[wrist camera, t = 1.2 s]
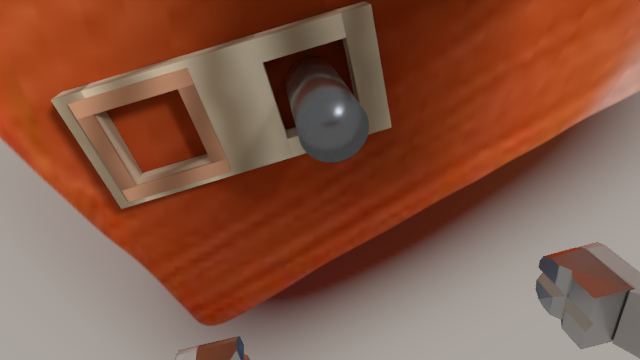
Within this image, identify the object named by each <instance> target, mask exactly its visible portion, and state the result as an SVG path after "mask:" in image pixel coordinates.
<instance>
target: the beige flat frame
mask: <svg viewBox="0 0 640 360" xmlns="http://www.w3.org/2000/svg"><path fill="white" fill-rule="evenodd" d="M340 39H342V40H343V45H344V50H345V54H346V59H347V64H348V68H349V73H350V78H351V82H352V87H353V92H354V96H355V98H356V99H357V101H358V102H359V103H360V105H361V106H362V107H363V109H364V110H365V112H366V114H367V117H368V121H369V132H368V134H372V133H375V132H378V131H382V130H385V129H388V128H392V125H391V119H390V114H389V108H388V102H387V96H386V90H385V84H384V78H383V72H382V66H381V60H380V54H379V48H378V42H377V36H376V31H375V25H374V19H373V13H372V7H371V4H370V3H367V2H365V1H363V2H359V3H356V4H353V5H349V6H346V7H343V8H339V9H336V10H333V11H329V12H326V13H323V14H319V15H316V16H313V17H309V18H306V19H303V20H299V21H296V22H293V23H289V24H286V25H283V26H279V27H276V28H273V29H269V30H266V31H263V32H259V33H256V34H253V35H249V36H246V37H243V38H239V39H236V40H233V41H229V42H226V43H223V44H219V45H216V46H213V47H209V48H206V49H203V50H199V51H196V52H193V53H189V54H186V55H183V56H179V57H176V58H173V59H169V60H166V61H163V62H159V63H156V64H153V65H149V66H146V67H143V68H139V69H136V70H133V71H129V72H126V73H123V74H119V75H116V76H113V77H109V78H106V79H103V80H99V81H96V82H93V83H89V84H86V85H83V86H79V87H76V88H73V89H69V90H66V91H63V92H61V93H60V94H58V95H57V96H56V97H54V98H53V99H52V100H51V102H52V103H53V105H54V106H55V108H56V109H57V111H58V112H59V114H60V115H61V117H62V118H63V120H64V121H65V123H66V125H67V126H68V128H69V129H70V131H71V132H72V134H73V135H74V137H75V138H76V140H77V141H78V143H79V145H80V146H81V148H82V149H83V151H84V152H85V154H86V155H87V157H88V158H89V160H90V161H91V163H92V165H93V166H94V168H95V169H96V171H97V172H98V174H99V175H100V177H101V178H102V180H103V181H104V183H105V185H106V186H107V188H108V189H109V191H110V192H111V194H112V195H113V197H114V198H115V200H116V201H117V203H118V204H119V206H120V208H121V209H123V208H127V207H130V206H133V205H137V204H140V203H143V202H146V201H150V200H153V199H156V198H160V197H163V196H166V195H170V194H173V193H176V192H180V191H183V190H186V189H190V188H193V187H196V186H199V185H203V184H206V183H209V182H213V181H216V180H219V179H223V178H226V177H229V176H233V175H236V174H239V173H243V172H246V171H249V170H253V169H256V168H259V167H262V166H266V165H269V164H272V163H276V162H279V161H282V160H286V159H289V158H292V157H296V156H299V155H302V154H306V152H305V150H304V149H303V147H302V146H301V143H300V141H299V137H298V133H297V129H296V127H293V128H290V129H287V130H286V129H285V126H284V123H283V120H282V117H281V114H280V111H279V108H278V105H277V102H276V99H275V96H274V93H273V90H272V87H271V84H270V81H269V78H268V75H267V71H266V68H265V65H264V62H266V61H270V60H273V59H276V58H280V57H283V56H286V55H290V54H293V53H296V52H300V51H303V50H306V49H310V48H313V47H316V46H320V45H323V44H326V43H330V42H333V41H336V40H340ZM177 89H178V91H179V93H180V95H181V98H182V100H183V102H184V104H185V106H186V108H187V111H188V113H189V115H190V117H191V119H192V121H193V124H194V126H195V128H196V130H197V132H198V134H199V137H200V139H201V141H202V143H203V145H204V147H205V150H206V152H207V154H204V155H200V156H197V157H194V158H191V159H187V160H184V161H181V162H177V163H174V164H171V165H167V166H164V167H161V168H157V169H154V170H151V171H147V172H144V173H142V171H141V170H140V168H139V166H138V164H137V163H136V161H135V159H134V158H133V156H132V154H131V152H130V151H129V149H128V147H127V145H126V144H125V142H124V140H123V139H122V137H121V135H120V133H119V132H118V130H117V128H116V126H115V125H114V123H113V121H112V120H111V118H110V116H109V114H108V113H107V110H110V109H113V108H117V107H120V106H123V105H127V104H130V103H133V102H137V101H140V100H143V99H147V98H150V97H153V96H157V95H160V94H163V93H167V92H170V91H173V90H177Z"/></svg>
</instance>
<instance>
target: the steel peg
mask: <svg viewBox="0 0 640 360" xmlns="http://www.w3.org/2000/svg"><path fill="white" fill-rule="evenodd" d="M285 87H286V92H287V96H288V99H289V103H290V107H291V111H292V114H293V118H294V122H295V126H296V129H297V133H298V137H299V141H300V143H301V146H302V147H303V149H304V150H305V152H306V153H307V154H308V155H310V156H311V157H312V158H314V159H316V160H319V161H322V162H328V163H333V162H340V161H343V160H346V159H348V158H350V157H351V156H353V155H354V154H356V153H357V152H358V151H359V150H360V149H361V147H362V146H363V145H364V143H365V141H366V139H367V136H368V132H369V121H368V117H367V114H366V112H365V110H364V109H363V107H362V106H361V105H360V103H359V102H358V101H357V99H356V98H355V96H354V95H353V94H352V92H351V91H350V90H349V88H348V87H347V85H346V84H345V83H344V81H343V80H342V79H341V77H340V76H339V74H338V73H337V72H336V70H335V69H334V68H333V66H332V65H331V64H330V63H329V62H328V61H326V60H324V59H322V58H319V57H306V58H303V59H300V60H298V61H297V62H296V63H294V64H293V65H292V67H291V68H290V69H289V71H288V73H287V76H286V80H285Z"/></svg>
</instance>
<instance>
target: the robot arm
mask: <svg viewBox="0 0 640 360" xmlns="http://www.w3.org/2000/svg"><path fill="white" fill-rule="evenodd" d="M539 268H540V270H542V272H543V273H542V274H541V275H540V276H539V278H538V279H537V281H536V292H537V295H538V299H539V300H540V302H541V304H542V305H543V307H544V308H545V309H546V311H547V312H548V313H549V314H550V315H552V316H555V317H557V318H559V319H561V325H562V329H563V330H564V331H565V332H566V333H567V334H568V335H569V337H570V338H571V339H572V340H573V341H574V342H575V343H576V344H577V346H578V347H579V348H580V349H583V348H587V347H591V346H595V345H599V344H603V343H608V342H612V341H613V344H615V345H617V346H619V347H620V348H622V349H624V350H626V351H628V352H630V353H631V354H633V355H635V356H637V357H639V358H640V272H639V271H638V270H636V269H635V268H634V267H632V266H631V265H630V264H628V263H627V262H626V261H625V260H623V259H622V258H621V257H619V256H618V255H617V254H616V253H614V252H613V251H612V250H610V249H609V248H608V247H606V246H605V245H603V244H601V243H598V242H596V243H592V244H589V245H585V246H581V247H578V248H573V249H569V250H565V251H561V252H558V253H554V254H551V255H547V256H543V258H542V259H541V260H540V263H539ZM175 360H250V359H249V357H248V356H247V355H245V354H244V345H243V342H242V340H241V338H240V337H234V338H230V339H225V340H221V341H216V342H212V343H208V344H204V345H199V346H196V347H192V348H187V349H184V350H179V352H178V353H177V356H176V358H175Z"/></svg>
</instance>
